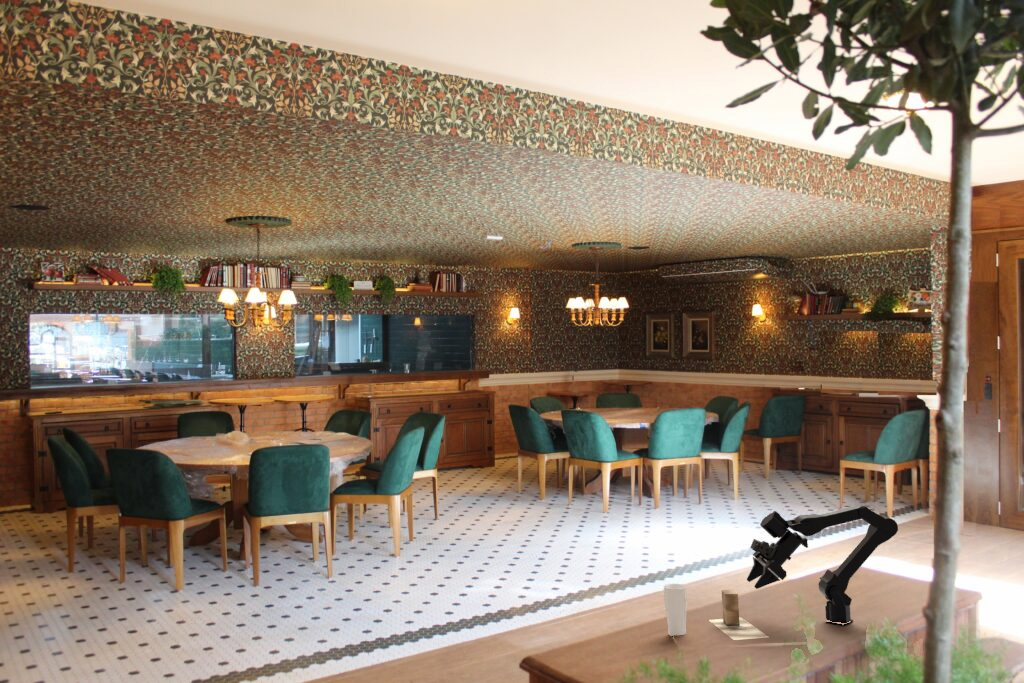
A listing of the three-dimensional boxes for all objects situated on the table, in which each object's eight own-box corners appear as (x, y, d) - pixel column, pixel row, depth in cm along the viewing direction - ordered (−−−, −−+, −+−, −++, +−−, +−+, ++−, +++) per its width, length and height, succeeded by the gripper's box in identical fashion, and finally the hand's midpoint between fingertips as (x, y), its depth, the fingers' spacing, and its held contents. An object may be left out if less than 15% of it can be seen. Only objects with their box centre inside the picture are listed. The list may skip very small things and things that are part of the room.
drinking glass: (675, 640, 258) (672, 590, 259) (661, 634, 264) (659, 585, 265) (693, 636, 261) (690, 586, 262) (679, 630, 267) (676, 582, 268)
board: (708, 622, 275) (708, 619, 275) (740, 619, 276) (740, 617, 276) (733, 642, 253) (733, 640, 253) (769, 639, 254) (769, 637, 254)
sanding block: (735, 621, 272) (734, 589, 272) (739, 625, 267) (737, 593, 267) (723, 621, 272) (721, 590, 273) (726, 626, 267) (725, 594, 268)
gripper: (757, 525, 280) (725, 560, 280) (773, 535, 261) (739, 573, 261) (783, 548, 279) (751, 583, 279) (801, 560, 261) (766, 598, 261)
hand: (751, 584), depth 270 cm, fingers open, 9 cm apart
